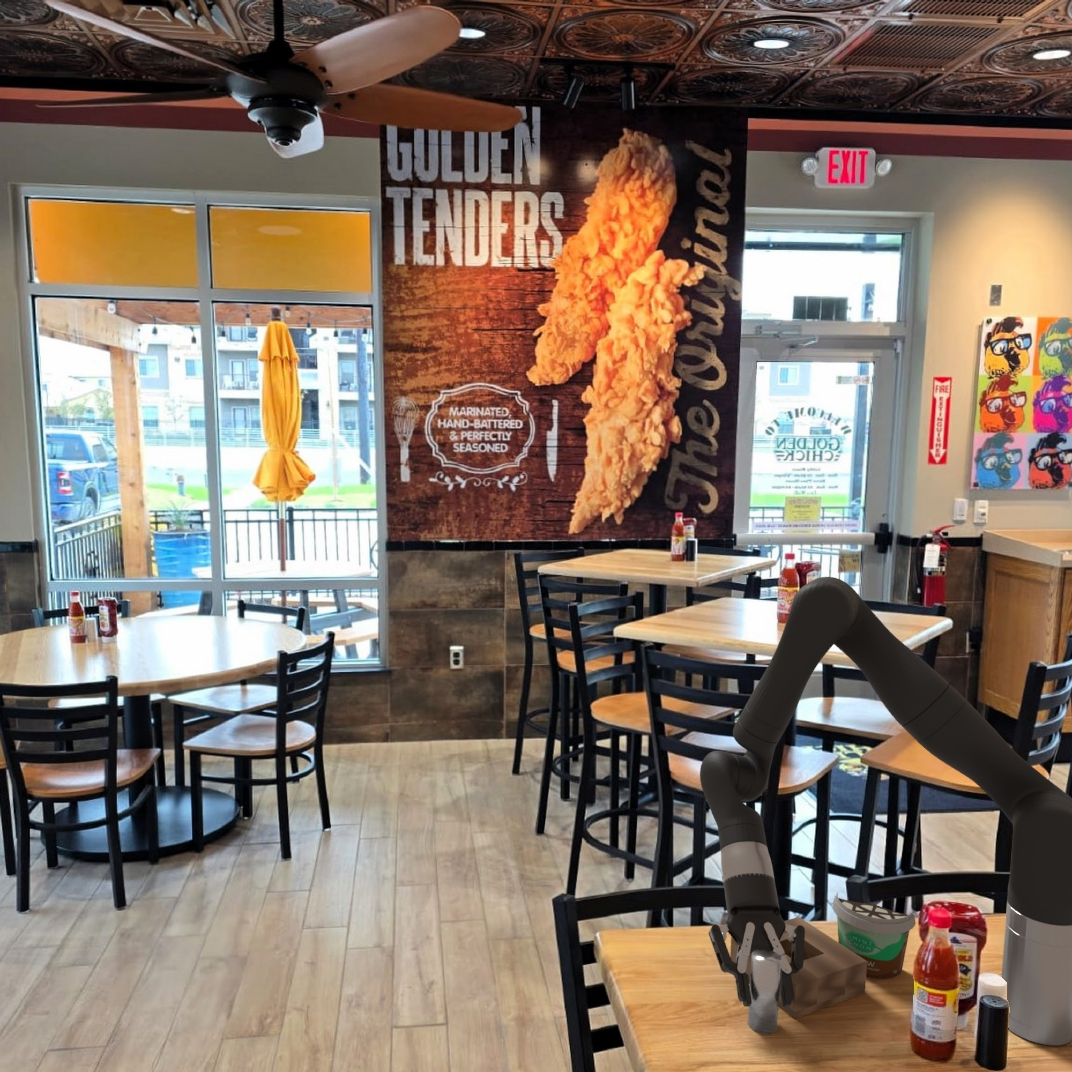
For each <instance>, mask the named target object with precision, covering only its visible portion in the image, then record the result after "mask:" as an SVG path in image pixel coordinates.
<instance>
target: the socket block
mask: <svg viewBox="0 0 1072 1072" xmlns="http://www.w3.org/2000/svg"><path fill="white" fill-rule="evenodd" d="M784 922H785V924H787V925H791V926H795V927H797V926H798V925H801V926H803V927H804V928H805V940H804V961H803V967H802V969H800V970H799V971H798V972H797V973H793V974H792V975H791V978H792V984H793V989H794V995H795V996H794V1000H793V1001H792V1002H791V1005H790V1006H789V1007H783V1005H782V999H781V993H780V989H779V1006H778V1008H780V1009H781V1010H782V1011H784V1012H785V1013H787V1014H788V1015H789V1016H791V1018H793V1019H794V1020H795V1019H798V1018H801V1017H803V1016H806V1015H809V1014H811V1013H815V1012H817V1011H819V1010H823V1009H825V1008H827V1007H831V1006H833V1005H836V1004H840V1003H841V1002H844V1001H847V1000H850V999H852V998H856V997H858V996H861V995H864V994H866V985H867V977H866V970H867V961H866V960H864V959H863V958H861V957H860V956H858V955H857V954H855V953H854V952H852V951H851V950H849V949H848V948H846V947H845V946H843V945H841V944H840V943H839V941H837V940H835V939H833V938H832V937H830V936H829V935H827V934H826V933H825V932H823V931H822V930H820V929H818V928H817V927H816V926H814V925H812V924H811V923H809V922H808V921H806V920H804V919H803V918H802V917H800V916H797V917H794V918H789V919H787V920H784ZM730 937H731V936H730ZM779 942H780V944H781V946H782V948H783V950H784V952H785V956H786V958H787V960H788V962H789V963H791V947H792V943H791V942H790V941H789V940H788V937H787V934H786V933H783V935H782V937H781V939H780V941H779ZM737 950H738V944H737V943H736V941H735V940H734V939H733V938H732V937H731V938H730V953H729V955H730V958H731V960H732V962H735V963H736V956H737ZM751 957H752V954H749V957H748V962H747V967H746V971H745V972H746V974H748V979H749V984H750V975H751Z"/></svg>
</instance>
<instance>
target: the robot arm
mask: <svg viewBox="0 0 1072 1072" xmlns="http://www.w3.org/2000/svg"><path fill="white" fill-rule="evenodd" d="M833 646H835V647H836V648H838V649H839V650H840V651H841V652H842V653H843V654H845V655H846V657H848V658H849V659H850V660H851V661H852V663H854V665H856V667H858V669H859V670H860V672H862V674H863V676H864V677H865V678H866V680H867V681H868V683H869V685H870V686H871V688H872V689H873V691H874V692H875V694H876V696H878V698H879V700H880V701H881V703H882V704H883V705H884V708H886V710H887V712H888V713H890V715H891V716H892V718H894V720H895V721H896V722H897V723H898V724H899V725H900V726H901V728H903V729H904V730H905V732H907V733H908V734H909V735H910V736H911V737H912V738H913V739H914V740H915V741H916V742H917V743H918V744H919V745H921V747H923V748H924V749H925V750H926V751H927V752H928V753H930V755H932V756H934V757H935V758H936V759H938V760H939V761H941V762H942V763H944V764H945V765H947V766H949V767H950V768H951V769H954V770H955V771H957V772H959V773H960V774H962V775H964V776H965V777H966V778H968V779H969V780H971V781H972V782H974V784H976V785H977V786H978V787H979V788H980V789H982V791H983V792H984V793H985V794H986V795H987V796H988V797H989V798H990V799H991V800H992V801H993V802H994V804H995V805H996V806H997V807H998V808H999V809H1000V810H1001V812H1002V813H1003V814H1004V815H1005V816H1006V818H1008V820H1009V822H1010V823H1011V824H1012V838H1011V839H1012V841H1011V842H1012V843H1011V854H1010V855H1011V856H1010V867H1009V879H1008V885H1007V899H1006V910H1005V911H1006V913H1005V926H1004V928H1005V929H1004V936H1003V937H1004V940H1003V952H1002V953H1003V954H1002V964H1001V965H1002V968H1001V977H1002V978H1003V979H1004V980H1005V981H1006V982H1007V1000H1008V1002H1009V1007H1010V1013H1009V1029H1008V1030H1010V1031H1011V1032H1012V1033H1013V1034H1015V1035H1017V1036H1019V1037H1021V1038H1023V1039H1025V1040H1028V1041H1030V1042H1033V1043H1037V1044H1041V1045H1046V1046H1063V1045H1066V1044H1069V1043H1070V1042H1071V1041H1072V797H1071V796H1070V795H1069V794H1068V793H1066V792H1065V791H1064V790H1062V789H1061V788H1060V787H1058V786H1057V785H1056V784H1055V783H1053V781H1051V780H1049V779H1048V778H1047V777H1046V776H1045V775H1043V774H1042V773H1041V772H1040V771H1039V770H1037V769H1036V768H1034V767H1033V766H1032V765H1031V764H1030V763H1028V762H1027V761H1026V760H1025V759H1024V758H1022V757H1021V756H1020V754H1018V753H1017V752H1016V751H1015V750H1014V749H1013V748H1012V746H1010V745H1009V743H1008V742H1006V740H1005V739H1004V738H1003V737H1002V736H1001V735H1000V734H999V732H998V731H997V730H996V729H995V728H994V727H993V726H992V725H991V724H990V723H989V722H988V720H987V719H985V718H984V717H983V715H982V714H980V712H979V711H978V710H977V709H976V708H975V707H974V706H973V705H972V704H971V703H970V702H969V701H968V700H967V699H966V698H965V697H964V696H963V695H961V693H960V692H959V691H957V689H956V688H955V687H953V685H951V684H949V682H948V681H947V680H946V679H945V678H944V677H943V676H941V675H940V674H939V673H938V672H937V671H936V670H934V669H933V667H932V666H931V665H930V664H928V663H927V662H926V661H925V660H924V659H922V658H921V657H920V656H919V655H917V653H915V652H914V651H913V650H912V649H911V648H910V647H908V646H907V645H906V644H905V643H903V641H901V640H900V639H899V638H898V637H897V636H895V635H894V634H893V633H892V632H891V631H890V629H889V628H888V627H886V625H885V624H884V623H883V622H882V621H881V620H880V619H879V617H878V616H877V615H876V614H875V612H873V610H871V608H870V607H869V606H868V605H867V603H866V602H865V601H864V599H862V597H861V596H860V595H859V594H858V593H857V592H856V590H855V589H854V588H853V587H852V586H851V585H850V584H849V583H847V582H846V581H845V580H843V579H840V578H837V577H835V576H834V577H833V576H821V577H818V578H815V579H813V580H810V581H809V582H807V583H805V585H803V586H802V587H801V588H800V589H799V590H797V592H796V593H795V595H794V597H793V599H792V602H791V606H790V609H789V612H788V616H787V619H786V622H785V626H784V628H783V631H782V634H781V637H780V639H779V642H778V644H777V647H776V649H775V651H774V654H773V656H772V658H771V660H770V662H769V664H768V666H767V667H766V669H765V671H764V673H762V674H763V675H762V676H761V678H760V680H759V681H758V683H757V684H756V687H755V688H754V690H753V691H752V693H751V694H750V697H749V698H748V701H747V702H746V704H745V706H744V707H743V709H742V711H741V713H740V715H739V717H738V719H737V720H736V723H735V724H734V727H733V730H732V736H733V739H734V740H735V741H736V743H737V744H738V745H739V746H740V747H741V748H743V749H745V750H746V751H745V753H744V754H743V755H740V754H735V753H731V752H728V751H723V750H713V751H711V752H709V753H708V754H707V755H705V756H704V758H703V760H702V762H701V764H700V770H699V781H700V782H699V783H700V786H701V789H702V792H703V795H704V798H705V800H706V802H707V805H708V807H709V809H710V812H711V814H712V817H713V819H714V821H715V824H716V826H717V833H718V839H719V846H720V847H719V848H720V849H719V850H720V860H721V861H720V865H721V867H720V868H721V878H722V879H721V881H722V882H723V890H724V898H725V905H726V906H725V907H726V911H727V920H726V923H724V924H721V925H718V924H713V925H712V926H711V928H710V929H709V930H708V936H709V939H710V941H711V945H712V948H713V950H714V953H715V957H716V960H717V962H718V965H719V967H720V970H721V971H722V972H723V973H728V974H731V975H732V976H733V977H734V979H735V983H736V985H735V986H736V993H737V998H738V1001H739V1002H740V1003H741V1002H742V1005H743V1007H748V1008H749V1006H750V1005H751V1004H752V1000H751V993H750V983H749V979H748V974H746V972H745V971H746V967H747V962H748V957H749V954H752V952H753V951H755V950H757V949H768V950H771V951H774V952H776V953H777V954H778V955H779V956H780V957H781V973H780V993H781V999H782V1005H783V1007H789V1006H790V1005H791V1002H792V1001H793V1000H794V996H795V995H794V989H793V984H792V978H791V975H792V974H793V973H797V972H798V971H799V970H800V969H802V967H803V961H804V940H805V928H804V927H803V926H801V925H798V926H797V927H795V926H791V925H787V924H785V922H784V921H785V920H784V919H783V918H782V915H781V911H780V905H779V898H778V892H777V887H776V882H775V876H774V874H775V873H774V868H773V864H772V860H771V857H770V853H769V850H768V849H769V848H768V843H767V838H766V832H765V826H764V823H763V818H762V816H761V815H760V813H759V812H758V811H756V810H755V809H753V808H751V807H750V806H747V804H745V803H744V802H753V801H755V800H756V799H758V798H759V797H760V796H761V795H762V794H763V793H764V791H765V789H766V787H767V785H768V782H769V776H770V771H771V766H772V763H773V758H774V754H775V751H776V747H777V746H778V744H779V742H780V740H781V738H782V737H783V735H784V733H785V731H786V729H787V727H788V726H789V724H790V722H791V719H792V718H793V716H794V714H795V712H796V710H797V707H798V704H799V703H800V700H801V698H802V696H803V693H804V691H805V688H806V686H807V683H808V682H809V680H810V678H811V676H812V675H813V672H814V671H815V669H816V668H817V667H818V665H819V663H820V662H821V660H822V659H823V658H824V657H825V655H826V654H827V653H828V652H829V651H830V649H831V648H832V647H833ZM727 933H728V934H729V935H730V937H732V938H733V939H734V940H735V941H736V943H737V944H738V950H737V956H736V963H735V962H732V960H731V958H730V952H729V949H728V947H727V944H726V940H727V938H728V937H727ZM783 933H786V934H787V937H788V940H789V941H790V942H791V943H792V947H791V963H789V962H788V960H787V958H786V956H785V952H784V950H783V948H782V946H781V944H780V942H779V941H780V939H781V937H782V935H783ZM1070 1040H1071V1041H1070Z"/></svg>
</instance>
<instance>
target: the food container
mask: <svg viewBox="0 0 1072 1072" xmlns="http://www.w3.org/2000/svg"><path fill="white" fill-rule="evenodd" d="M838 894H839V893H838V891H837V892H836V895H834V898H833V901H832V909H833V912H834V914H835V915H836V920H837V939H838V941H837V942H838V943H840V944H841V945H843V946H845V947H846V948H848V949H849V950H851V951H852V952H854V953H855V954H857V955H858V956H860V957H861V958H863V959H864V960H866V961H867V970H866V978H868V979H874V980H889V979H893V978H896V977H898V976H899V975H900V974H901V973H902V970H903V967H904V962H905V956H906V951H907V946H908V940H909V935H910V931H911V930H912V929H914V928H915V926H916V918H915V917H916V916H915V914H914V913H913V909H912V910H911V912H910V913H909V914H907V913H902V912H897V911H895V910H894V911H893V910H891V909H887V908H886V907H883V906H880V905H877V904H874V903H866V902H865V903H864V902H858V901H852V900H848V899H844V898H840V897H838V896H839V895H838Z"/></svg>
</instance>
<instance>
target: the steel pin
mask: <svg viewBox="0 0 1072 1072" xmlns="http://www.w3.org/2000/svg"><path fill="white" fill-rule="evenodd" d="M780 973H781V957H780V956H779V955H778V954H777V953H776V952H774V951H771V950H768V949H757V950H755V951H753V952H752V957H751V975H750V983H749V986H750V993H751V1000H752V1004H751V1005H750V1006H749V1007H748V1013H747V1024H748V1026H749V1028H750V1029H751V1030H753V1031H755V1032H756V1033H759V1034H763V1035H769V1034H770V1035H771V1034H774V1033H775V1032H776V1031H777V1030H778V1021H779V989H780Z"/></svg>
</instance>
